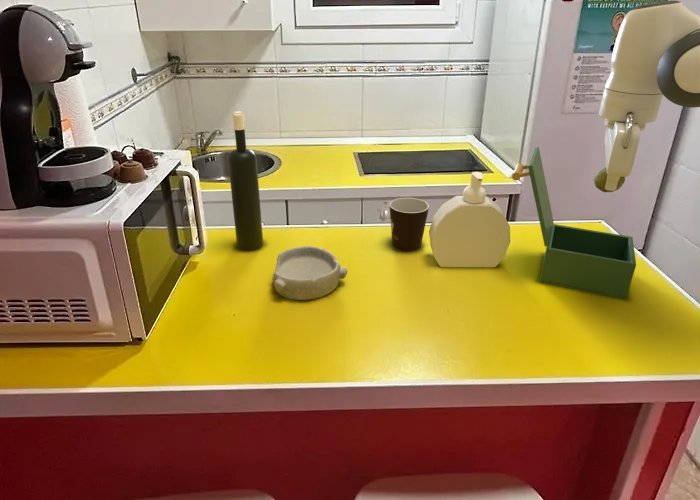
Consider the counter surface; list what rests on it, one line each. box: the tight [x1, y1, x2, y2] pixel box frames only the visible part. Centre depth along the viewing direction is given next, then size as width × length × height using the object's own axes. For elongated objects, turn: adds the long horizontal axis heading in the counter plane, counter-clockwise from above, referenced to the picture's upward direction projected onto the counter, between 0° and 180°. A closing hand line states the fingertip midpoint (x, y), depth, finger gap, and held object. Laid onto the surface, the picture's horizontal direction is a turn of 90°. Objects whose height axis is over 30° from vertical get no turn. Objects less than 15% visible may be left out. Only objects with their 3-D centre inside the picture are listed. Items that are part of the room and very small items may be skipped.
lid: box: [511, 146, 555, 247], centre depth 103 cm, size 16×13×5 cm
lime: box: [593, 166, 626, 193], centre depth 94 cm, size 4×5×5 cm
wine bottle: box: [227, 110, 264, 252], centre depth 109 cm, size 6×6×30 cm
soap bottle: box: [428, 171, 511, 268], centre depth 106 cm, size 16×5×20 cm, turn 90°
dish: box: [272, 245, 348, 301], centre depth 101 cm, size 14×14×5 cm
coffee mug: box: [388, 197, 430, 252], centre depth 116 cm, size 12×9×10 cm
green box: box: [539, 223, 637, 300], centre depth 104 cm, size 16×13×8 cm
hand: (609, 184), depth 94 cm, fingers closed on lime, 3 cm apart
